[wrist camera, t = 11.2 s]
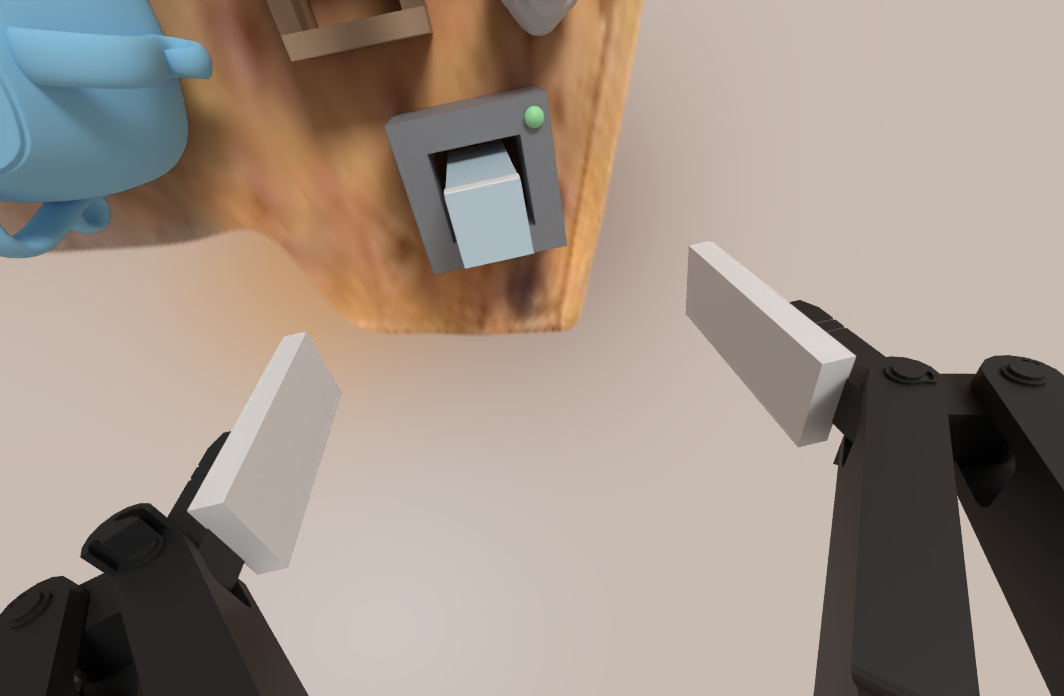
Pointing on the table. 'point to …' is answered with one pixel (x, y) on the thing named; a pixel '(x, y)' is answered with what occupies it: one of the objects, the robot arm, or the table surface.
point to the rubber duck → (538, 14)
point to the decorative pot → (86, 110)
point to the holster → (344, 28)
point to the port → (474, 124)
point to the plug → (486, 205)
